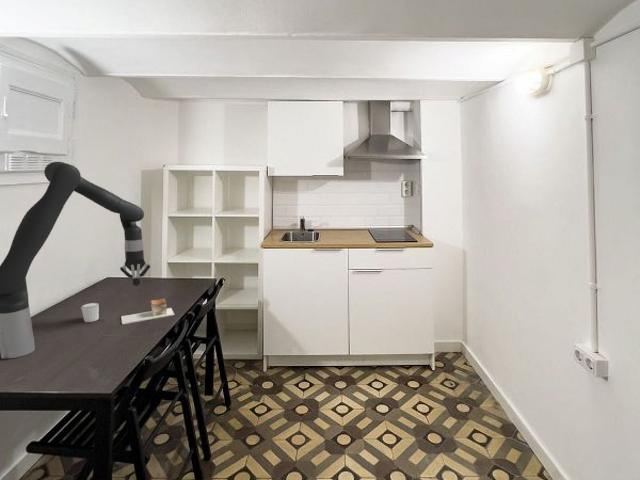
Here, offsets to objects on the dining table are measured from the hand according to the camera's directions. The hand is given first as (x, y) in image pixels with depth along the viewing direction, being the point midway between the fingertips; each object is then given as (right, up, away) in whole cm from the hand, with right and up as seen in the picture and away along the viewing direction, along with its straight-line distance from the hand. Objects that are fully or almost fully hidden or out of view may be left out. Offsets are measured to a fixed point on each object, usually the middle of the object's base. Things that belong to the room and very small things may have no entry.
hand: (136, 285), depth 163 cm
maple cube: (+8, -8, +5) cm, 12 cm away
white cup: (-21, -16, -1) cm, 26 cm away
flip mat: (+4, -15, +3) cm, 16 cm away
